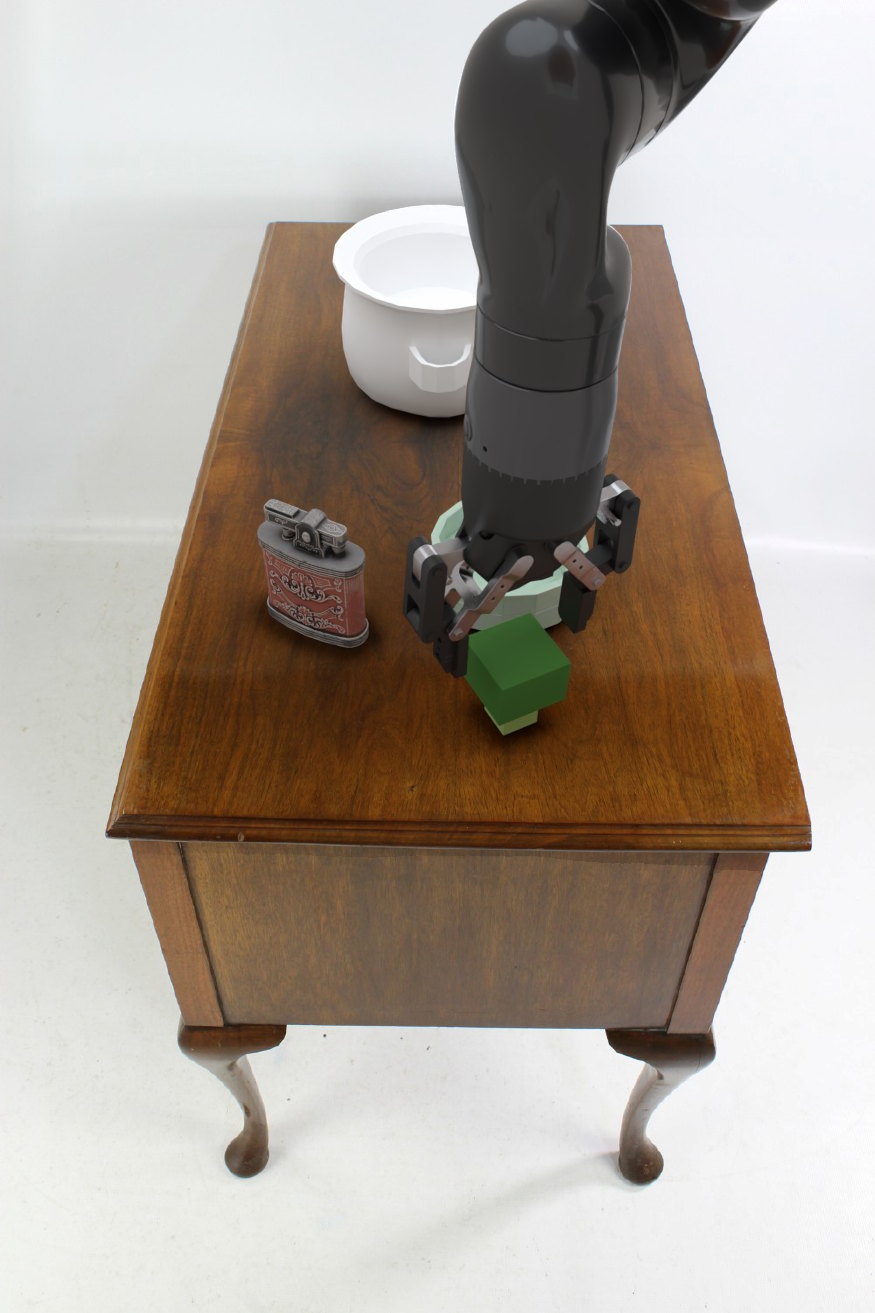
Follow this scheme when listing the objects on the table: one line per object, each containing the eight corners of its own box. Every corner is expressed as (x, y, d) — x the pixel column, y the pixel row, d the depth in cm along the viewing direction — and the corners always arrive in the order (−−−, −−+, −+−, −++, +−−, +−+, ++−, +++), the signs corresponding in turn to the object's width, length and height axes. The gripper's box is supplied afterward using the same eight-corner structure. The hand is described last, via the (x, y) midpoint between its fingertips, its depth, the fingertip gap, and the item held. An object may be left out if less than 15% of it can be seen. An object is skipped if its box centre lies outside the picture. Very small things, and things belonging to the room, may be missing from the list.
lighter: (377, 625, 77) (373, 518, 70) (353, 655, 75) (346, 549, 68) (284, 587, 80) (271, 481, 72) (258, 616, 78) (242, 509, 70)
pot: (347, 315, 106) (340, 192, 97) (520, 317, 106) (530, 195, 97) (334, 449, 91) (325, 320, 82) (536, 451, 91) (549, 322, 82)
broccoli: (523, 677, 74) (530, 611, 69) (561, 728, 71) (572, 662, 66) (459, 702, 72) (462, 637, 68) (496, 755, 69) (502, 690, 65)
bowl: (531, 520, 85) (536, 475, 82) (609, 609, 79) (618, 564, 75) (405, 563, 82) (405, 518, 78) (476, 660, 75) (479, 615, 72)
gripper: (449, 512, 50) (440, 727, 62) (694, 432, 55) (642, 647, 67) (379, 426, 54) (384, 643, 66) (612, 359, 59) (577, 573, 71)
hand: (513, 645), depth 66 cm, fingers open, 8 cm apart
